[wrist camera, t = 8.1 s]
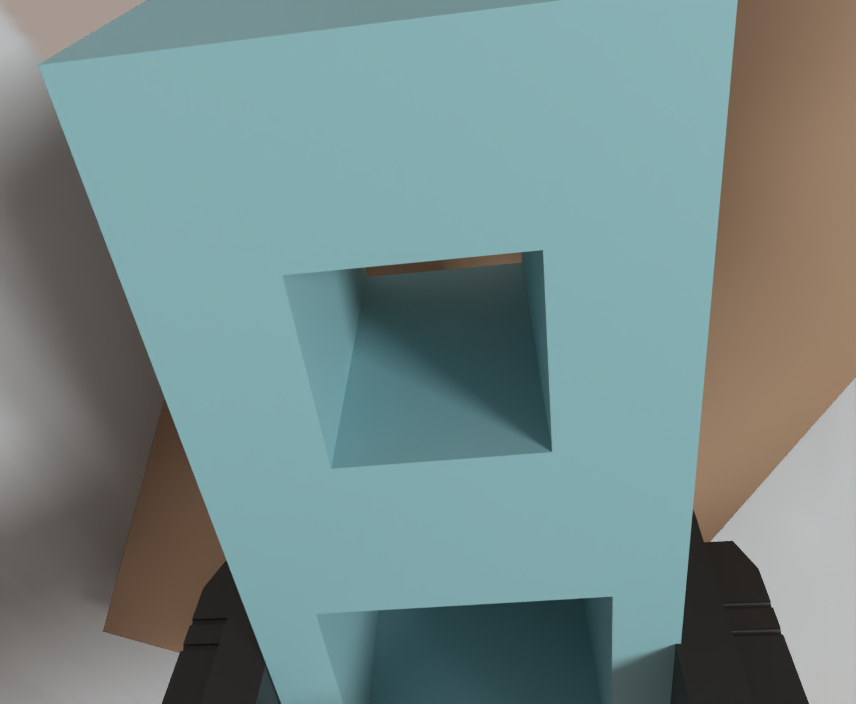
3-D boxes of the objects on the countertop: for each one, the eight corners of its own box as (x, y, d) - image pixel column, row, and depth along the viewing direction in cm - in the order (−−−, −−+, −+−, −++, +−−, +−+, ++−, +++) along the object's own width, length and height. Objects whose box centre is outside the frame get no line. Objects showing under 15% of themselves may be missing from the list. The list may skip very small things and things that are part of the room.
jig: (124, 584, 22) (40, 765, 18) (416, -482, 10) (372, -698, 6) (524, 699, 24) (534, 887, 20) (1163, -75, 12) (1528, -17, 8)
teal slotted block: (369, 664, 16) (348, 881, 13) (188, -25, 9) (37, 65, 6) (616, 651, 16) (660, 872, 13) (629, -83, 9) (739, -22, 5)
